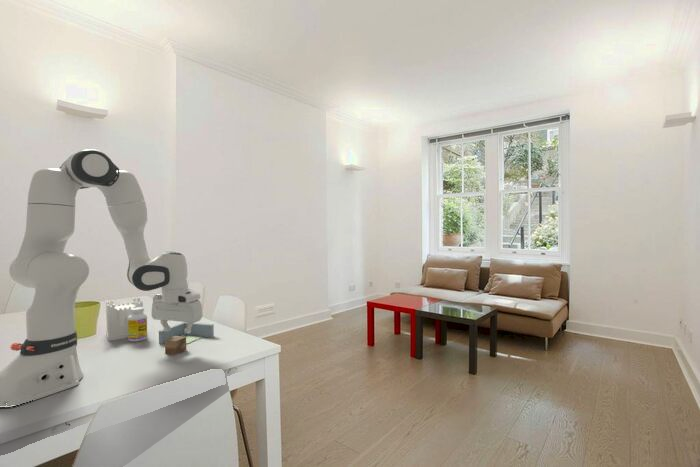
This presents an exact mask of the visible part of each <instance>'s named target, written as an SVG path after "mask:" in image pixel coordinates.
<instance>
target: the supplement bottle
mask: <svg viewBox="0 0 700 467" xmlns="http://www.w3.org/2000/svg"><path fill="white" fill-rule="evenodd" d="M144 311H145V308H144V306H143V307H136V308H132V309H131V315H130V316H129V317H128V341H129V342H131V343H132V342H133V343H134V342H135V343H136V342H143V341H145V340H147V339H148V316H147V313H144Z"/></svg>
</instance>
